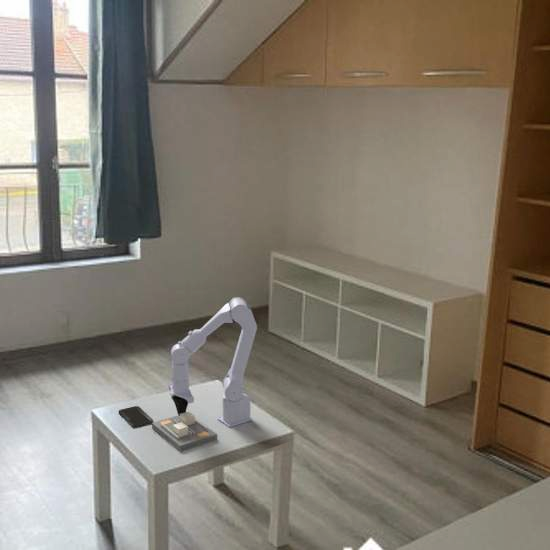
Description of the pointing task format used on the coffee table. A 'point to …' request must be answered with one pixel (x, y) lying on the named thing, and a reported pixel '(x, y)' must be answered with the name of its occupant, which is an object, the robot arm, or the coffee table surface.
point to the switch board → (195, 436)
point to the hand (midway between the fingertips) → (181, 415)
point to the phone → (135, 416)
